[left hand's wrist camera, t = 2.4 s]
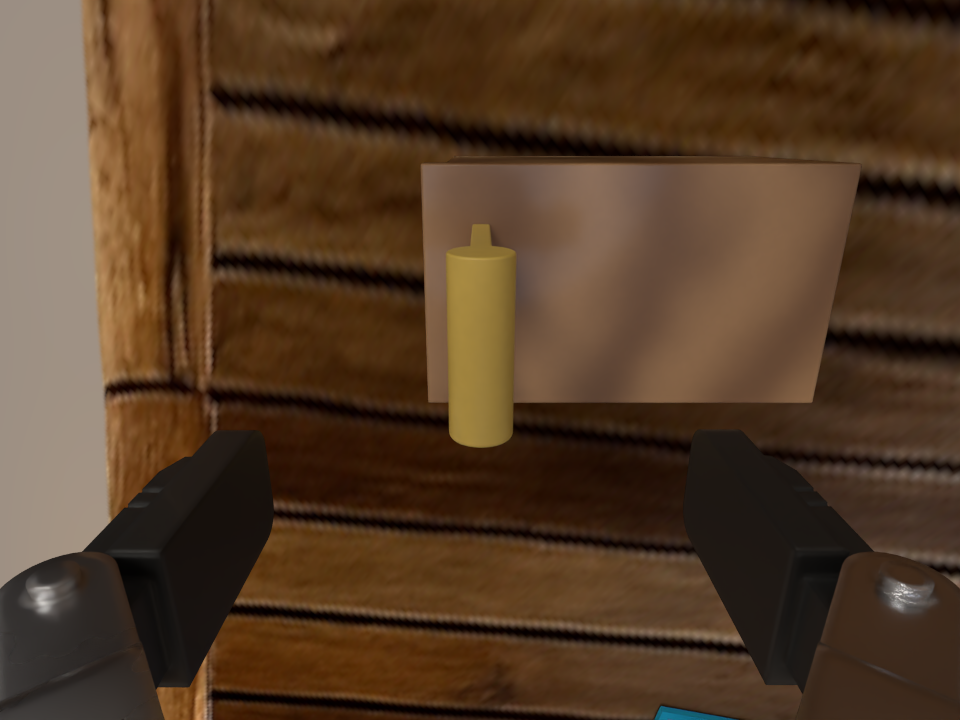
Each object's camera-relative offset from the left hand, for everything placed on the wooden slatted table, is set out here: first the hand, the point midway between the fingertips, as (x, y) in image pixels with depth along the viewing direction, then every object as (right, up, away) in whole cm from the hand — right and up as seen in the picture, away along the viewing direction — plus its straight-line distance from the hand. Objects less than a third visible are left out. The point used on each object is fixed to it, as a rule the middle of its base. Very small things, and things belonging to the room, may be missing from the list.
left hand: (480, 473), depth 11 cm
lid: (+6, +5, +14) cm, 16 cm away
